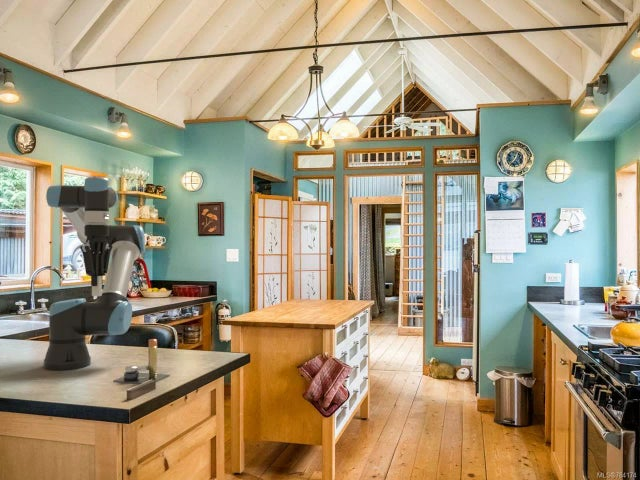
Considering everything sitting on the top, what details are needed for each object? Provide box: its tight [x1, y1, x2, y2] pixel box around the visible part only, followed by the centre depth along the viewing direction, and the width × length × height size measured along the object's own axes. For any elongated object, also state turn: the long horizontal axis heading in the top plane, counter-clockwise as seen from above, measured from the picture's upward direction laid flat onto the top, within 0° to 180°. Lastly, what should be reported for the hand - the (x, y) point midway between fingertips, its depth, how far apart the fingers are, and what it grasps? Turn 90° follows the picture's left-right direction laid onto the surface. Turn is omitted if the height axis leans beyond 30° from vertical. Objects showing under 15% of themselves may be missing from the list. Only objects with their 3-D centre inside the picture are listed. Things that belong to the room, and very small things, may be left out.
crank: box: [125, 338, 158, 373], centre depth 173 cm, size 10×4×10 cm, turn 120°
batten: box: [126, 380, 157, 401], centre depth 155 cm, size 2×12×3 cm, turn 165°
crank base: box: [112, 345, 171, 385], centre depth 173 cm, size 13×12×10 cm
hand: (96, 295), depth 180 cm, fingers closed
